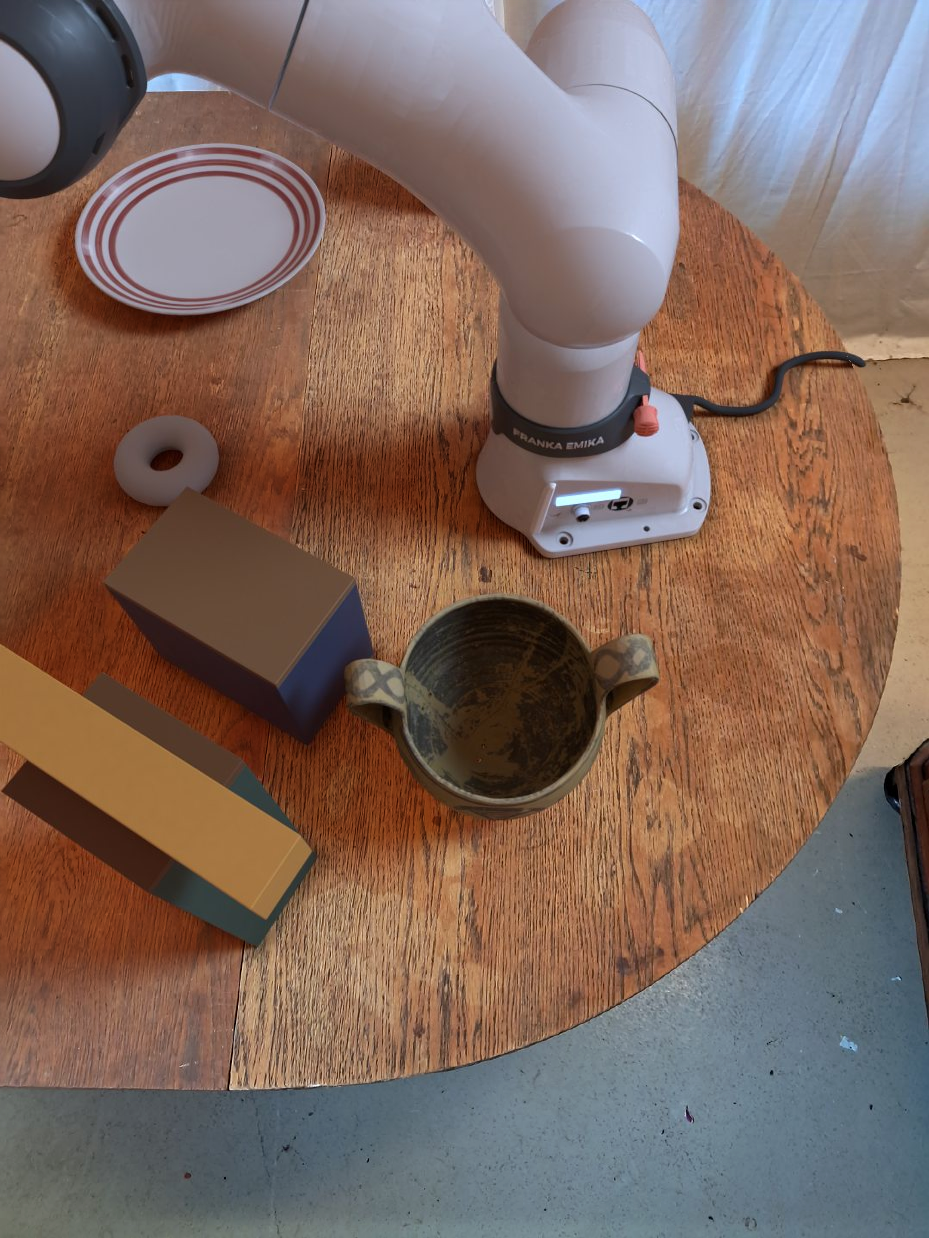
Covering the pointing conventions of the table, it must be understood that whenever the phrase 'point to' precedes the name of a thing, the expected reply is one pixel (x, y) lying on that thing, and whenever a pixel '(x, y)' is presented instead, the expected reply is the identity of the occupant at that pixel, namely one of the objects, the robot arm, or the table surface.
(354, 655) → the brown-topped navy block
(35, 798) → the brown-topped teal block
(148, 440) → the donut
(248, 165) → the dinner plate
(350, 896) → the table surface
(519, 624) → the ceramic bowl
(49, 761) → the yellow ochre bar
